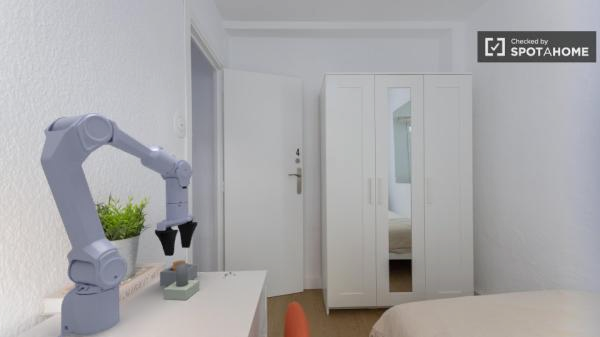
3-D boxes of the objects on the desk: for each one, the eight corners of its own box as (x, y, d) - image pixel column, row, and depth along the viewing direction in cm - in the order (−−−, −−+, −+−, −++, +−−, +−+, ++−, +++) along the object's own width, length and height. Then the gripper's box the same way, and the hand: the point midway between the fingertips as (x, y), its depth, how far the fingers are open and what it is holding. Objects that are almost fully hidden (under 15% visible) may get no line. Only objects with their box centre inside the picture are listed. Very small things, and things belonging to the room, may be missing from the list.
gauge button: (170, 276, 76) (170, 263, 76) (177, 272, 79) (177, 260, 79) (181, 276, 75) (180, 264, 76) (187, 272, 79) (187, 260, 79)
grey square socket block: (160, 290, 74) (160, 272, 74) (175, 280, 81) (175, 263, 81) (183, 291, 73) (183, 272, 73) (197, 281, 80) (196, 264, 80)
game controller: (239, 283, 78) (239, 274, 79) (198, 288, 76) (198, 278, 76) (240, 276, 84) (240, 268, 84) (201, 280, 82) (201, 271, 82)
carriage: (163, 298, 66) (163, 268, 66) (178, 288, 72) (178, 260, 72) (186, 300, 65) (185, 269, 65) (199, 289, 71) (199, 261, 71)
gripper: (173, 205, 67) (174, 259, 67) (203, 200, 82) (204, 244, 81) (148, 205, 69) (149, 259, 68) (182, 200, 83) (183, 244, 83)
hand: (177, 251), depth 75 cm, fingers open, 7 cm apart
